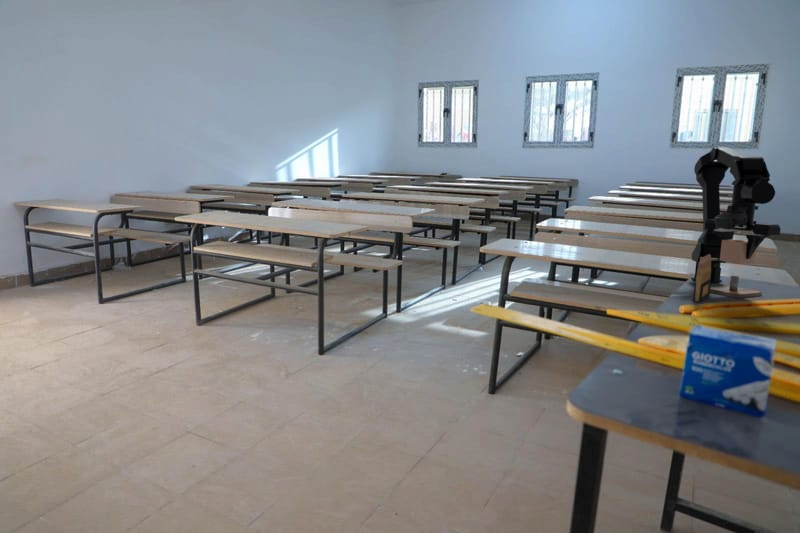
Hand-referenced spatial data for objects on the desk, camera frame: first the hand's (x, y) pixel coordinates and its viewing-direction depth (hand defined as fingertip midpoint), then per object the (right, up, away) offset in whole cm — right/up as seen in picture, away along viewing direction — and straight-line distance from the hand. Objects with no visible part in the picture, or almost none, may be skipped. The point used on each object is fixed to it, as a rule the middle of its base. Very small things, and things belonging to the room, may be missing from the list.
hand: (737, 257), depth 155 cm
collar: (0, -1, 0) cm, 1 cm away
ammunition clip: (-14, -12, -6) cm, 19 cm away
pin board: (0, -10, +2) cm, 11 cm away
